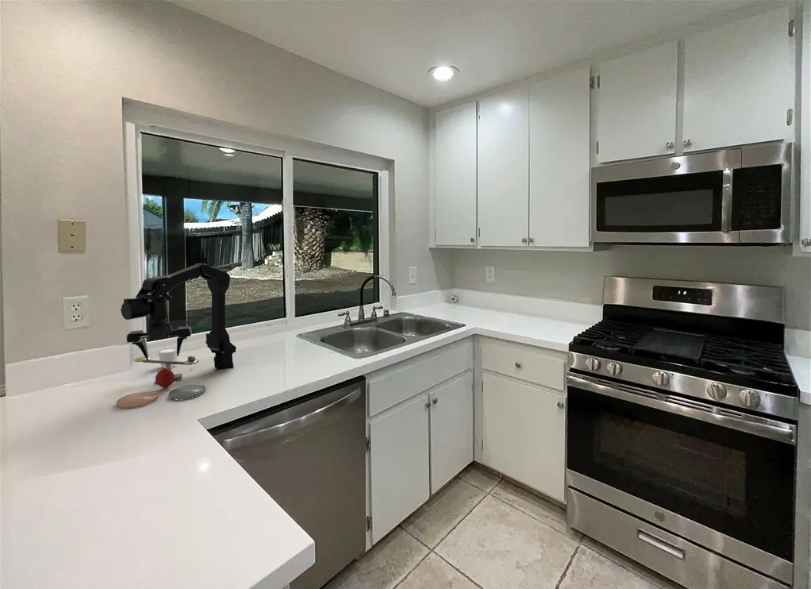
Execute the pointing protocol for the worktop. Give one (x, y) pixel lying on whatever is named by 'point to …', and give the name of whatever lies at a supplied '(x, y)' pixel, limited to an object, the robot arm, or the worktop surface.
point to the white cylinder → (168, 356)
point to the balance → (190, 361)
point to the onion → (164, 378)
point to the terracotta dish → (136, 399)
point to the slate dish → (187, 391)
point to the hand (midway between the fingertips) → (163, 357)
